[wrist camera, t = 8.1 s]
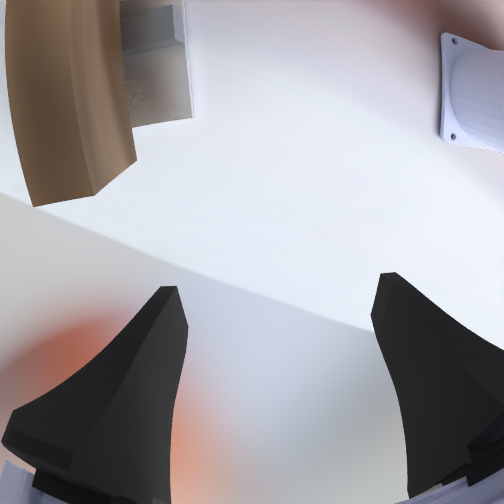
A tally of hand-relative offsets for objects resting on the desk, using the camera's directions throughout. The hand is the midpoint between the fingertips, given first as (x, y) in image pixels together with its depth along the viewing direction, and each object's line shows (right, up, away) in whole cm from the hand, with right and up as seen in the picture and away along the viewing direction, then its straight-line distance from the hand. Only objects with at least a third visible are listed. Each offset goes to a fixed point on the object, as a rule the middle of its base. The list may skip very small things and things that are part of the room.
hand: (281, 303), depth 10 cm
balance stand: (-9, +14, +3) cm, 17 cm away
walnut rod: (-9, +12, 0) cm, 15 cm away
